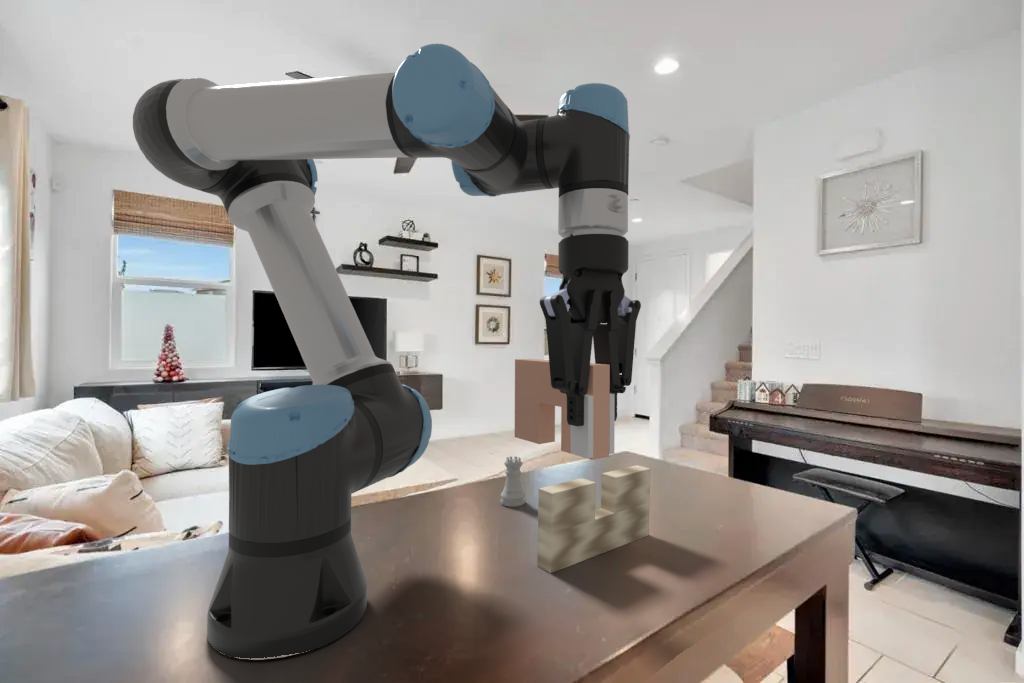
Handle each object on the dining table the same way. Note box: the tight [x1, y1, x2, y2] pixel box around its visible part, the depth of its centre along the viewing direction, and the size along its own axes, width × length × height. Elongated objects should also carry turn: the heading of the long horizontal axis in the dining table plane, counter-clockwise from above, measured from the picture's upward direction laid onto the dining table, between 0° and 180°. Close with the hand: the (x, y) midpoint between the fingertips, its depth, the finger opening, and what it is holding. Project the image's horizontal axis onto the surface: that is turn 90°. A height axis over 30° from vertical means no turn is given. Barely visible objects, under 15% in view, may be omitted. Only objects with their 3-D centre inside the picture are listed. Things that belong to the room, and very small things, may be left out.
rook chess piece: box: [499, 456, 526, 508], centre depth 87 cm, size 4×4×8 cm
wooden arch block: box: [514, 358, 610, 461], centre depth 59 cm, size 14×2×10 cm, turn 36°
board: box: [536, 464, 652, 574], centre depth 69 cm, size 20×2×10 cm, turn 128°
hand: (592, 452), depth 54 cm, fingers closed on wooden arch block, 2 cm apart
